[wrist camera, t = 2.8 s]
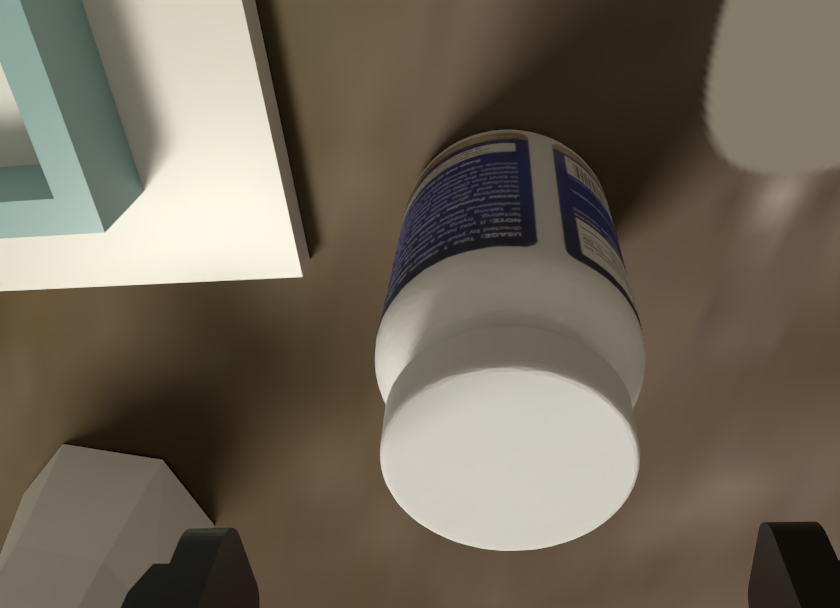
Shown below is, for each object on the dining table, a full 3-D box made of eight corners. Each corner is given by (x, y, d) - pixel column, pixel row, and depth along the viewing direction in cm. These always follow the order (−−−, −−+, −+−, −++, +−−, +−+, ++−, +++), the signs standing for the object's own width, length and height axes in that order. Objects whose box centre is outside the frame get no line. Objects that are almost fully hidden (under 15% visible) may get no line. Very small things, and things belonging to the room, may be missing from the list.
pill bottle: (392, 282, 23) (330, 541, 15) (426, 103, 20) (370, 305, 12) (575, 319, 24) (613, 597, 15) (636, 146, 20) (726, 377, 12)
